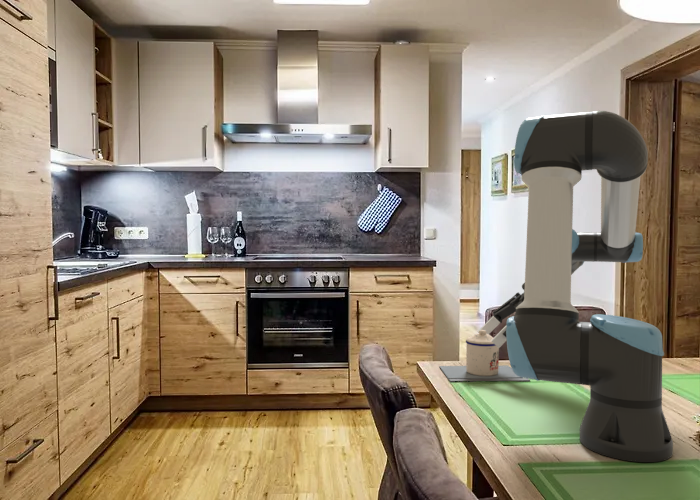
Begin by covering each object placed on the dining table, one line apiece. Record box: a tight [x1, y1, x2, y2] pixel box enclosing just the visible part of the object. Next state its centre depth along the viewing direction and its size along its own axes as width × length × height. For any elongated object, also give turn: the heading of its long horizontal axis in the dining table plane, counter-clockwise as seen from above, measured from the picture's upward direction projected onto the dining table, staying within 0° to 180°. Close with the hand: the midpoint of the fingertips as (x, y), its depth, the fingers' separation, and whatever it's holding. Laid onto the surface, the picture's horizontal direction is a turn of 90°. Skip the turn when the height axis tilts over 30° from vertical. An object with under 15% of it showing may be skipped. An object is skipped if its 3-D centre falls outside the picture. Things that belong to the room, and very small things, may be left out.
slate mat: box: [438, 365, 522, 380], centre depth 150 cm, size 13×20×1 cm, turn 91°
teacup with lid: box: [465, 329, 500, 376], centre depth 150 cm, size 12×9×12 cm
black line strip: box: [448, 378, 531, 383], centre depth 142 cm, size 2×21×1 cm, turn 91°
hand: (487, 339), depth 150 cm, fingers open, 13 cm apart
